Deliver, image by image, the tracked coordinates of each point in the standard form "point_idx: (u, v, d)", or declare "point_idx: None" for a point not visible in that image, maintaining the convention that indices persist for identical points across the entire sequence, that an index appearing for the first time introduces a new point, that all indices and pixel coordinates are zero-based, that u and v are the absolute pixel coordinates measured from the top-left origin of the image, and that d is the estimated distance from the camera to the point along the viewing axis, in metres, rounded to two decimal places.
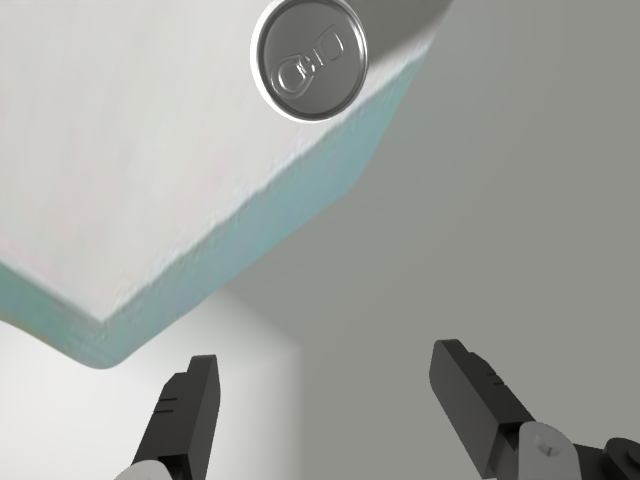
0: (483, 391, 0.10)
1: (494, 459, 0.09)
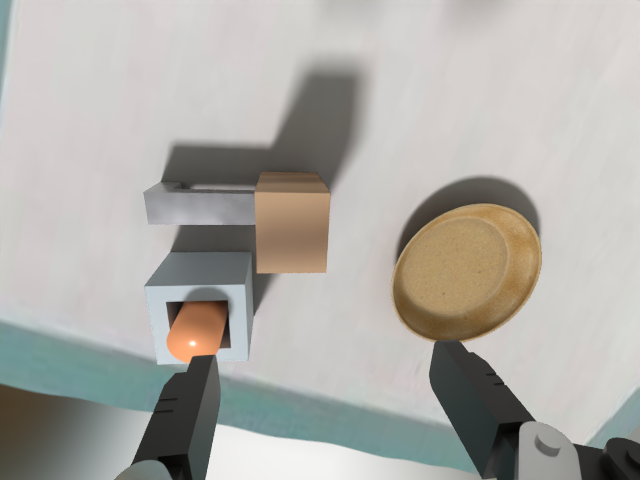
0: (483, 391, 0.10)
1: (494, 459, 0.09)
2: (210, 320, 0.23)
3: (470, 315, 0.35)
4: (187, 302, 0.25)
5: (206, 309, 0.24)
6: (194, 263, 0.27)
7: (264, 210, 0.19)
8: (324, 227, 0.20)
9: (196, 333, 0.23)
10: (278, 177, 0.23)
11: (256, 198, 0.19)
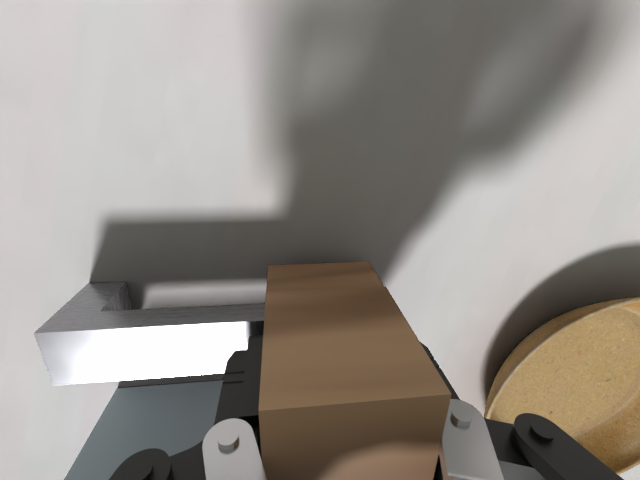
0: None
1: None
2: None
3: (587, 438, 0.23)
4: None
5: None
6: (154, 422, 0.15)
7: (285, 443, 0.08)
8: (428, 458, 0.08)
9: None
10: (304, 297, 0.11)
11: (264, 422, 0.07)
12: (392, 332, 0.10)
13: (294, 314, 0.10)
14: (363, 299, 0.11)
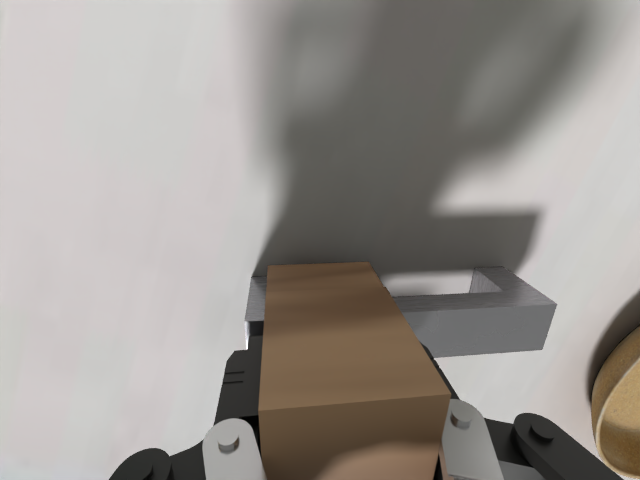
0: None
1: None
2: None
3: None
4: None
5: None
6: None
7: (285, 443, 0.08)
8: (428, 458, 0.08)
9: None
10: (304, 297, 0.11)
11: (263, 422, 0.07)
12: (392, 332, 0.10)
13: (294, 314, 0.10)
14: (363, 299, 0.11)
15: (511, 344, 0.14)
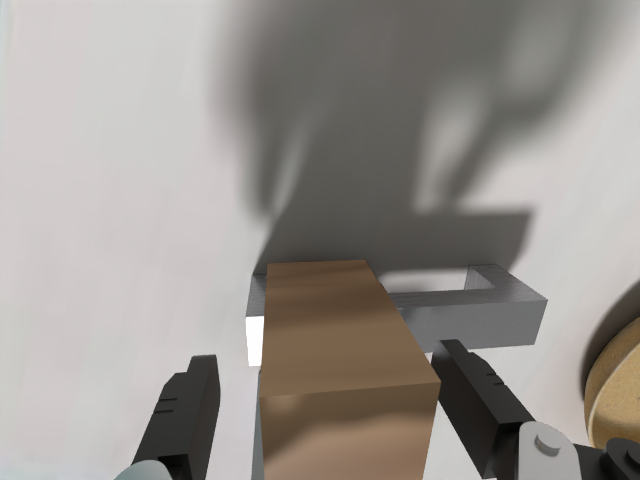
0: (483, 391, 0.10)
1: (494, 459, 0.09)
2: None
3: None
4: None
5: None
6: None
7: (284, 429, 0.08)
8: (420, 444, 0.09)
9: None
10: (303, 293, 0.12)
11: (264, 408, 0.08)
12: (386, 325, 0.10)
13: (292, 309, 0.11)
14: (359, 295, 0.12)
15: (504, 339, 0.15)
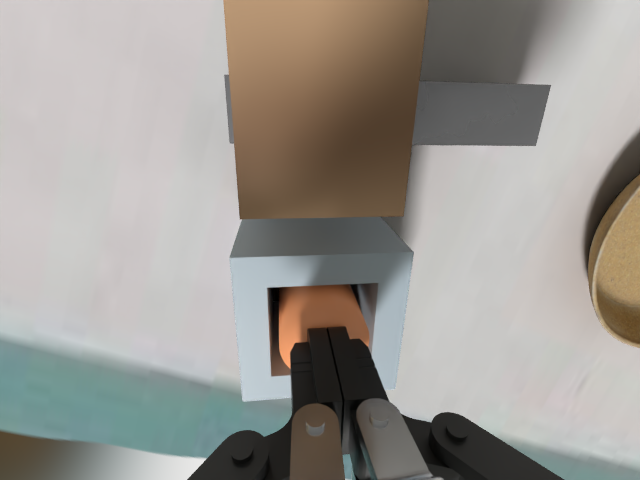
0: (345, 372, 0.10)
1: (348, 435, 0.10)
2: (351, 302, 0.13)
3: None
4: None
5: (337, 285, 0.14)
6: (296, 223, 0.16)
7: (252, 36, 0.07)
8: (407, 93, 0.08)
9: (332, 325, 0.13)
10: None
11: None
12: None
13: None
14: None
15: (503, 135, 0.14)
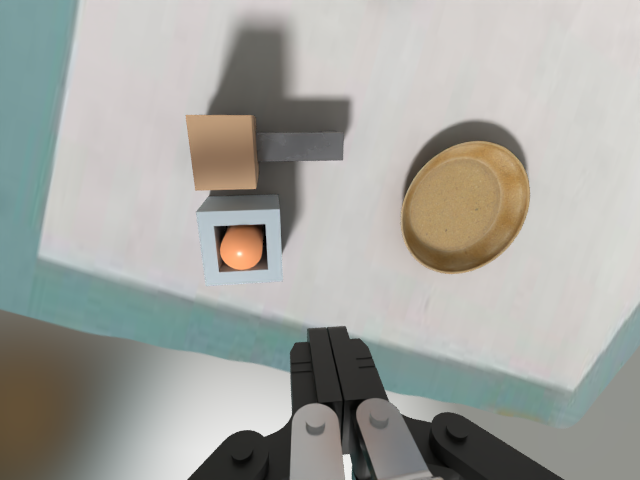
0: (345, 372, 0.10)
1: (348, 435, 0.10)
2: (253, 233, 0.29)
3: (470, 250, 0.39)
4: (232, 225, 0.31)
5: (249, 227, 0.30)
6: (232, 200, 0.31)
7: (195, 131, 0.23)
8: (249, 146, 0.24)
9: (243, 241, 0.28)
10: None
11: (187, 120, 0.23)
12: None
13: None
14: None
15: (325, 155, 0.30)
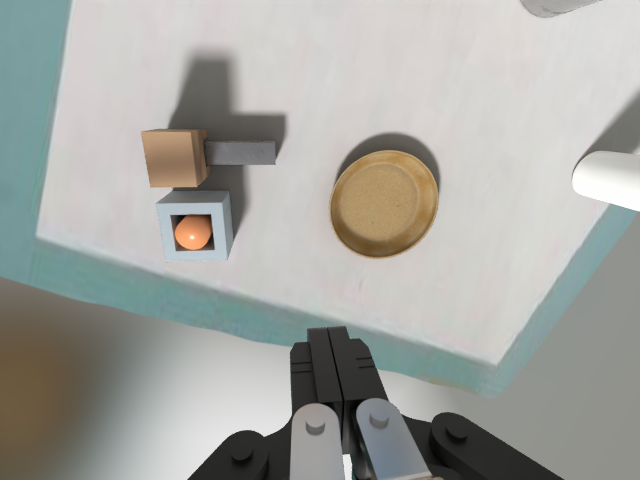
0: (345, 372, 0.10)
1: (348, 435, 0.10)
2: (202, 220, 0.37)
3: (394, 240, 0.47)
4: None
5: (200, 216, 0.38)
6: (189, 195, 0.39)
7: (149, 143, 0.31)
8: (190, 155, 0.31)
9: (193, 227, 0.36)
10: (171, 129, 0.35)
11: (142, 135, 0.30)
12: (189, 130, 0.33)
13: (163, 129, 0.34)
14: (189, 129, 0.34)
15: (261, 160, 0.38)
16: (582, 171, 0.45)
